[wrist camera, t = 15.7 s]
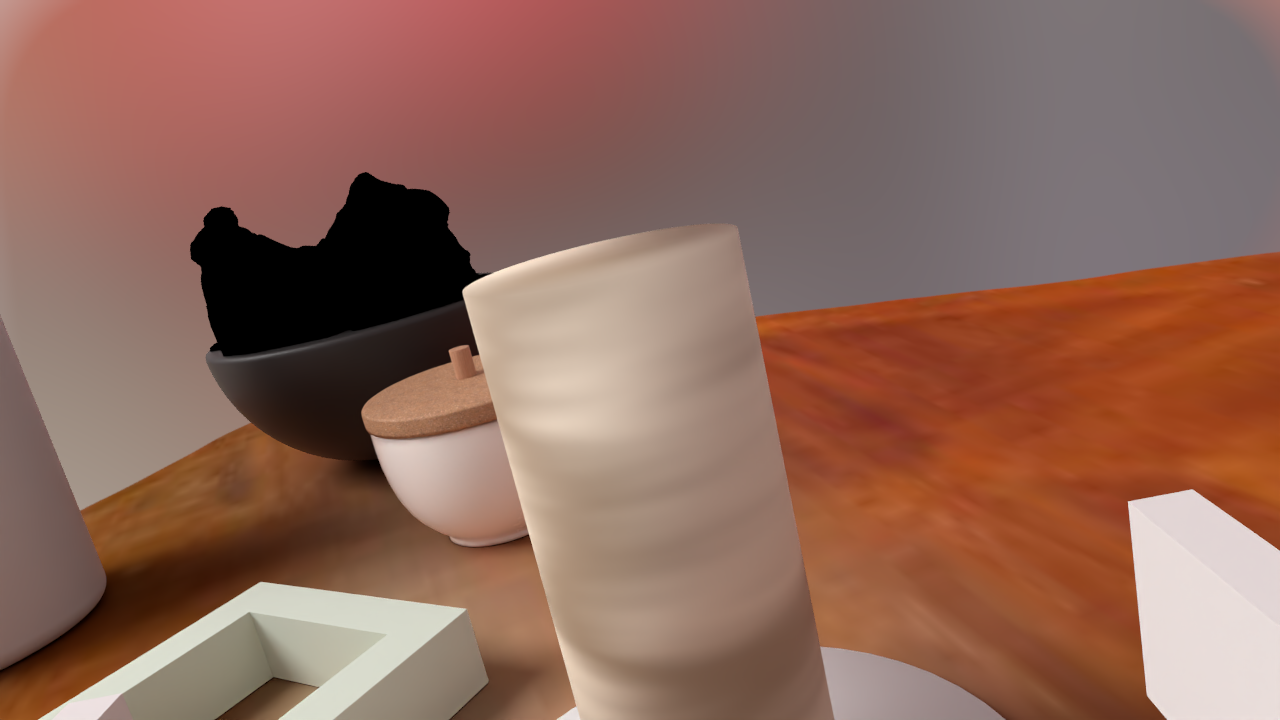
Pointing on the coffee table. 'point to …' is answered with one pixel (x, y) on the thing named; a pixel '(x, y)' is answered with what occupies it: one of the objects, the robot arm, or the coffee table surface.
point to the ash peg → (653, 477)
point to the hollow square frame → (308, 659)
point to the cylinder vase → (37, 528)
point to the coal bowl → (333, 313)
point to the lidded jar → (447, 452)
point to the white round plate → (888, 691)
